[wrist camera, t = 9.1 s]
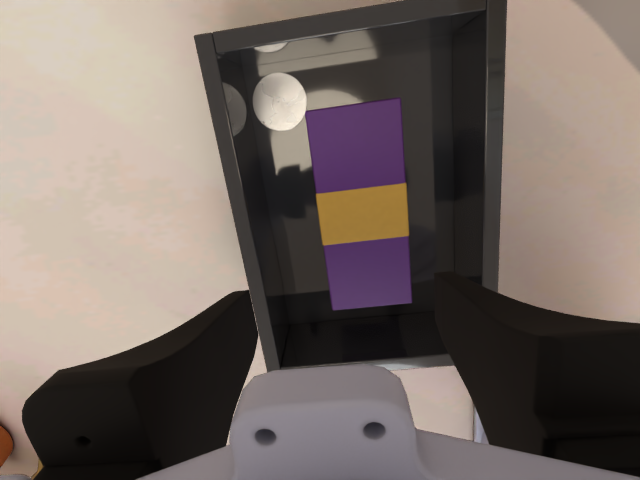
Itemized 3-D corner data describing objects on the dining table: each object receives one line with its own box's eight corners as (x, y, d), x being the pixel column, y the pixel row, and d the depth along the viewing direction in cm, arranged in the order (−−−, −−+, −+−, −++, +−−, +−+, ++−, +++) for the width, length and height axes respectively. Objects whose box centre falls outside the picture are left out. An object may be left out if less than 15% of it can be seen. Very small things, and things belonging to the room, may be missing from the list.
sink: (462, 18, 19) (508, -18, 14) (463, 312, 24) (496, 362, 19) (229, 55, 20) (192, 34, 15) (282, 328, 25) (268, 380, 20)
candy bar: (390, 100, 19) (402, 96, 16) (401, 275, 23) (413, 303, 19) (309, 111, 20) (303, 110, 16) (332, 282, 23) (331, 311, 20)
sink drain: (302, 68, 19) (302, 68, 19) (310, 127, 20) (310, 127, 20) (248, 76, 19) (247, 76, 19) (258, 134, 20) (258, 134, 20)
